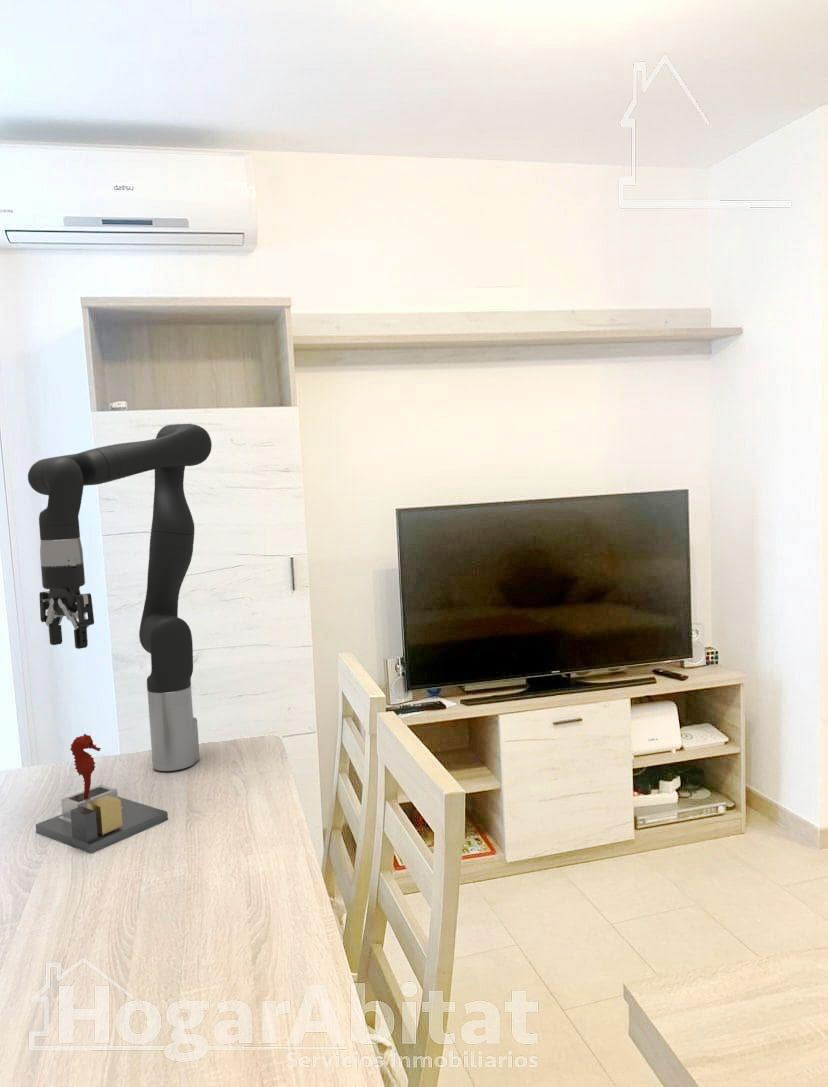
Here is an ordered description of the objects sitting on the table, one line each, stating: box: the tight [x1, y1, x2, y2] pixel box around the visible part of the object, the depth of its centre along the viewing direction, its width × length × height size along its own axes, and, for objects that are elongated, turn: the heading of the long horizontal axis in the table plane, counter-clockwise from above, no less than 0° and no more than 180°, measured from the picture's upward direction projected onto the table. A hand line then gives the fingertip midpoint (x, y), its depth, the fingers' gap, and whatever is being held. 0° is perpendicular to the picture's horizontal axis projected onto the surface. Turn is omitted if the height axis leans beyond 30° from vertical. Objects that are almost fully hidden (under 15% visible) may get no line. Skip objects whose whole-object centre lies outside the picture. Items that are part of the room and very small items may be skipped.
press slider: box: [87, 795, 123, 835], centre depth 144 cm, size 4×4×5 cm
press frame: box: [35, 784, 169, 854], centre depth 150 cm, size 16×17×6 cm
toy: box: [69, 733, 102, 800], centre depth 152 cm, size 2×5×15 cm, turn 120°
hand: (68, 646), depth 157 cm, fingers open, 8 cm apart
